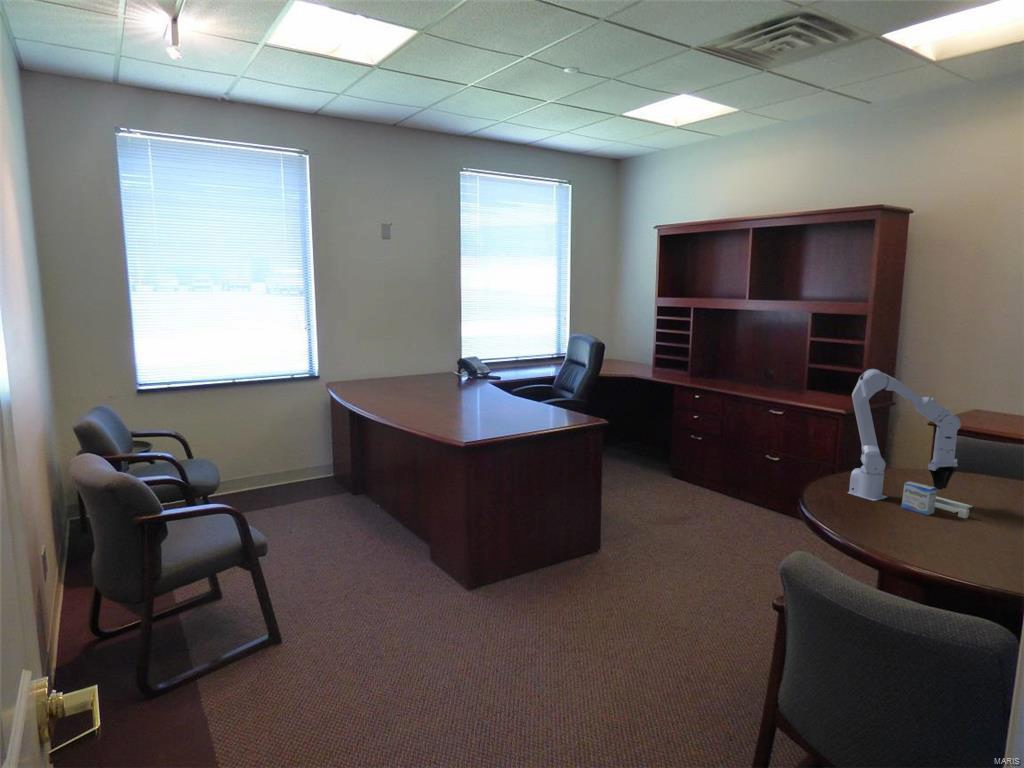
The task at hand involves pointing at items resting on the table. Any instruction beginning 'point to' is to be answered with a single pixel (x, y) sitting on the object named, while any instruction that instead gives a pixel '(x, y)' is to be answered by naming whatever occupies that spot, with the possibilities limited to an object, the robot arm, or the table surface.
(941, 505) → the sage mat
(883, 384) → the robot arm
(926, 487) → the medicine box
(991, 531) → the table surface
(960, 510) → the gray bar handle
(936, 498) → the grey bar
